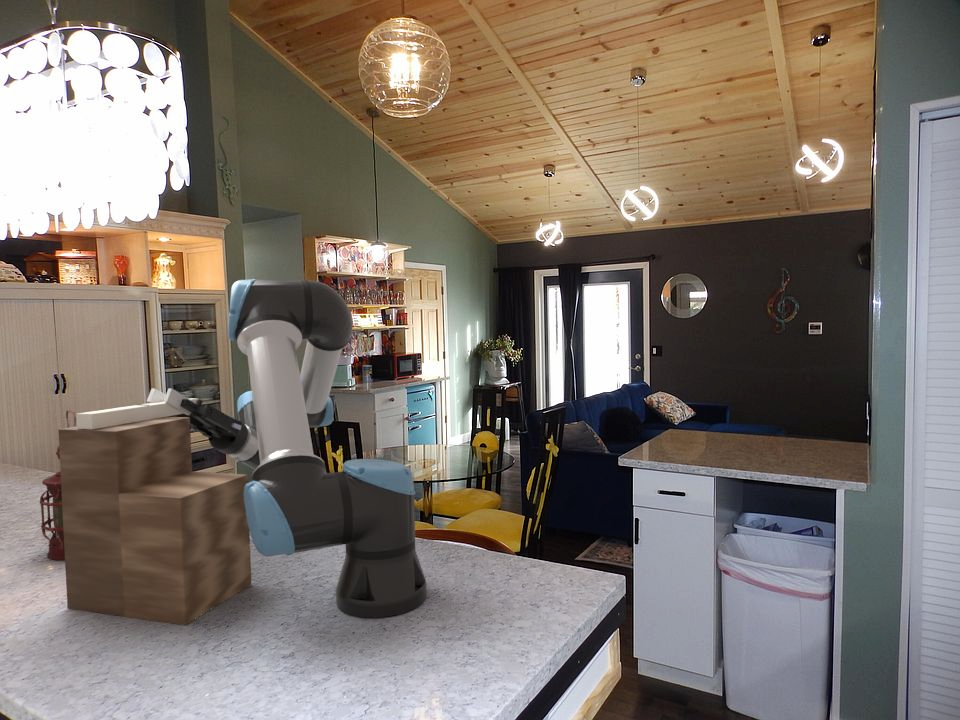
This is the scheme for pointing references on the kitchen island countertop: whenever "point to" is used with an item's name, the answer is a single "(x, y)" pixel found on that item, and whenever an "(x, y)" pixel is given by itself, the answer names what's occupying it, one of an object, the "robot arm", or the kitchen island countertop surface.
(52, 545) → the lantern
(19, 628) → the kitchen island countertop surface
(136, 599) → the two tier stand
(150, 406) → the domino bar
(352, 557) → the robot arm
